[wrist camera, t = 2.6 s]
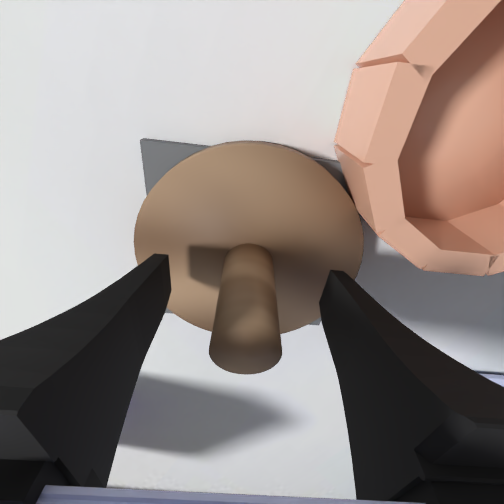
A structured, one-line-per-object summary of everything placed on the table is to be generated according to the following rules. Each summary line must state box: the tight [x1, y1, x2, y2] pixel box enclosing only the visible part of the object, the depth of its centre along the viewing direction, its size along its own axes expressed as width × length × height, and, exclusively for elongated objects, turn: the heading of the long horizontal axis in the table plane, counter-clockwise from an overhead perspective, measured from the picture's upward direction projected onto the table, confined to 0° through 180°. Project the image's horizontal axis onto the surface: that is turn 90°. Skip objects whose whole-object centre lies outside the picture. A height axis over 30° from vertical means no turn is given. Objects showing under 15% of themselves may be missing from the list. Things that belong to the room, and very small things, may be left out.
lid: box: [134, 141, 364, 374], centre depth 11 cm, size 11×11×6 cm
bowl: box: [334, 0, 504, 276], centre depth 9 cm, size 10×10×4 cm
